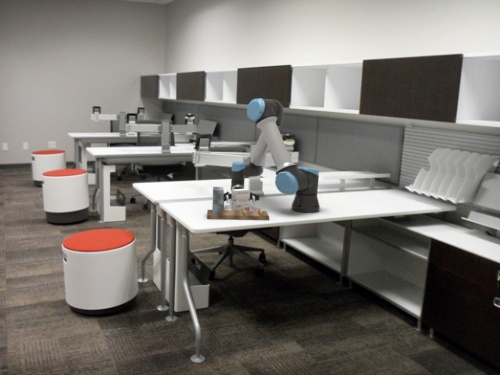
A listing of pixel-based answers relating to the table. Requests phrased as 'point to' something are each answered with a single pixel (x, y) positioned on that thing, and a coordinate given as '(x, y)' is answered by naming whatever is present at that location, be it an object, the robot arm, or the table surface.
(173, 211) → the table surface
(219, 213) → the wooden desk organizer
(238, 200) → the ink box
